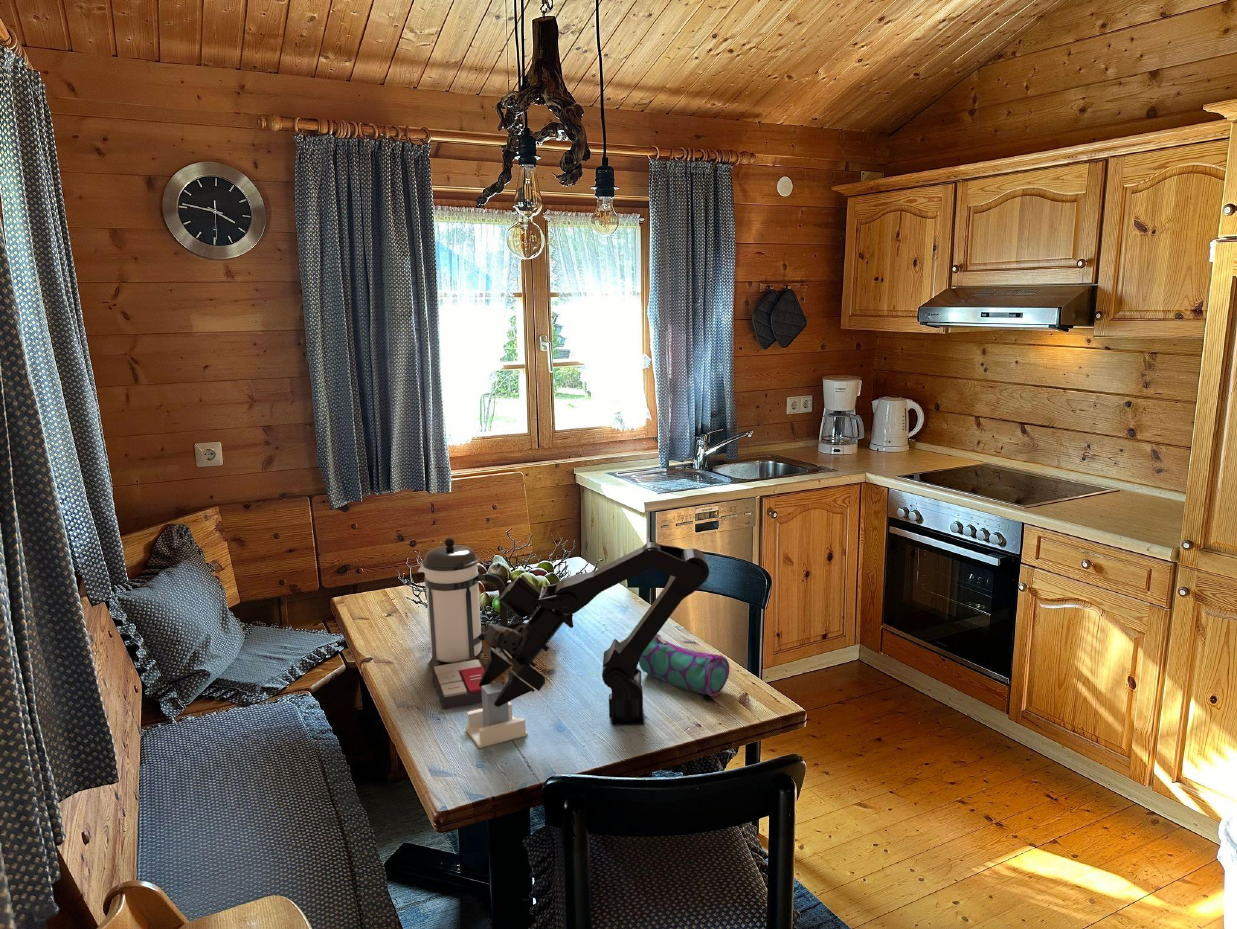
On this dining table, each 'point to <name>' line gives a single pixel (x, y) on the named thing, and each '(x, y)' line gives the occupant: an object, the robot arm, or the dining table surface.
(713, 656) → the pencil case
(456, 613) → the coffee press
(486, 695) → the grey rectangular prism
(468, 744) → the dining table surface
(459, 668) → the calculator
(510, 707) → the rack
